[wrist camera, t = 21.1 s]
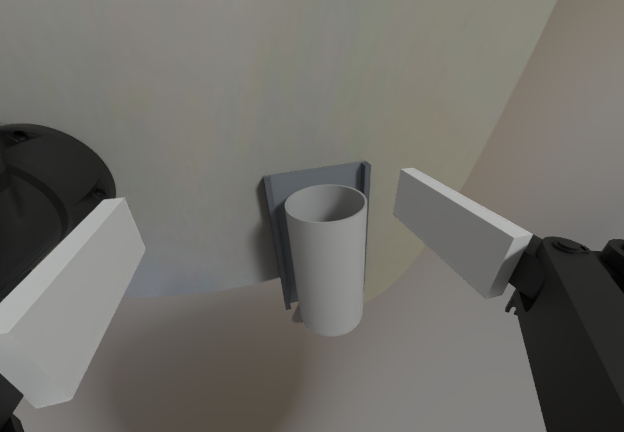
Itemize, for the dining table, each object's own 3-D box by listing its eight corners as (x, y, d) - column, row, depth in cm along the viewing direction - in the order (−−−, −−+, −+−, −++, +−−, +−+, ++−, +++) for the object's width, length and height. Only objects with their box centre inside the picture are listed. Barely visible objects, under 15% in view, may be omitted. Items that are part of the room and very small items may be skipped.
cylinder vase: (334, 352, 44) (329, 234, 32) (287, 313, 52) (268, 205, 39) (374, 308, 52) (383, 197, 39) (328, 279, 60) (322, 178, 47)
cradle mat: (360, 284, 60) (363, 290, 59) (284, 302, 57) (286, 309, 55) (365, 161, 45) (370, 164, 43) (263, 176, 42) (264, 181, 40)
